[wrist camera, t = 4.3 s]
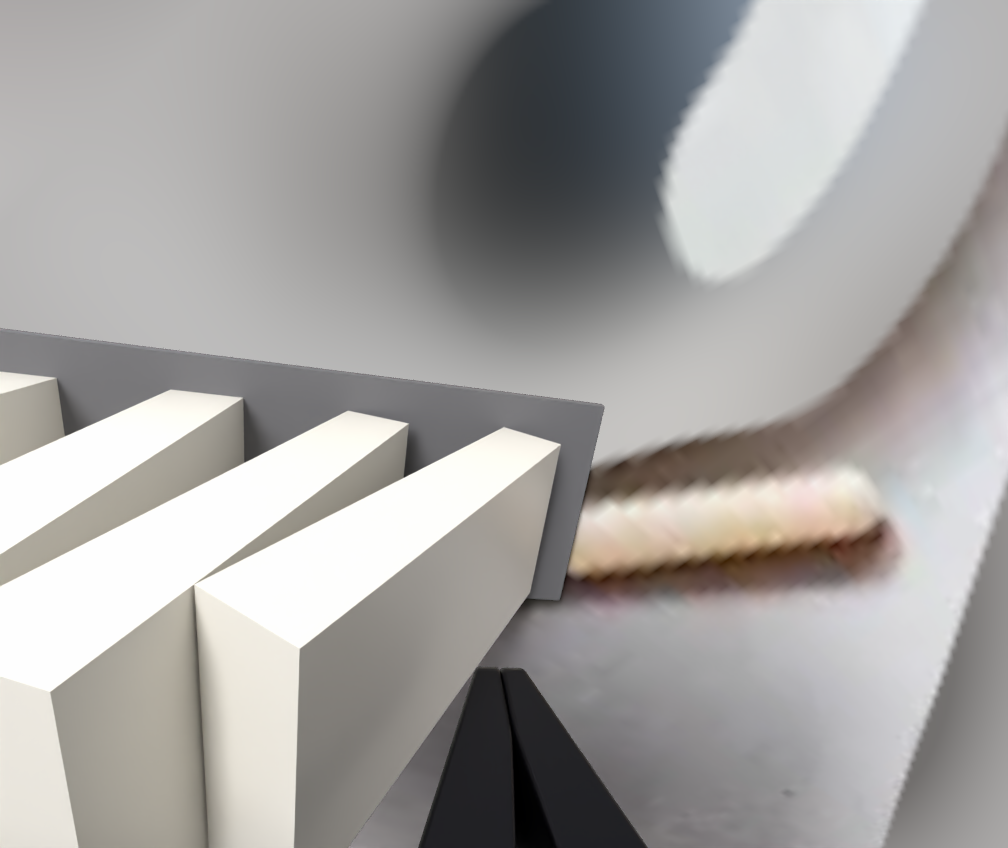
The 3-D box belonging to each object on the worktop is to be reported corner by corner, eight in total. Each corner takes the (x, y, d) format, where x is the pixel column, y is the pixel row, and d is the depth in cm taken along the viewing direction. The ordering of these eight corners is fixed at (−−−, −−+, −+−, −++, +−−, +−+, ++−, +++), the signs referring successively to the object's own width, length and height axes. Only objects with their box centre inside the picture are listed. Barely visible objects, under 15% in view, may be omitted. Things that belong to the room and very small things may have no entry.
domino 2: (393, 575, 14) (106, 999, 6) (339, 562, 14) (-15, 951, 6) (408, 423, 13) (49, 692, 4) (347, 410, 13) (-111, 641, 4)
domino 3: (530, 592, 15) (291, 927, 7) (480, 570, 15) (208, 850, 7) (560, 444, 13) (299, 649, 5) (504, 427, 14) (194, 584, 6)
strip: (601, 403, 14) (604, 406, 14) (557, 594, 16) (559, 600, 16) (-305, 289, 11) (-325, 290, 10) (-211, 550, 13) (-226, 557, 12)
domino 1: (245, 555, 14) (-61, 992, 6) (181, 551, 14) (-244, 1005, 5) (243, 397, 13) (-180, 670, 4) (170, 389, 12) (-447, 664, 4)
